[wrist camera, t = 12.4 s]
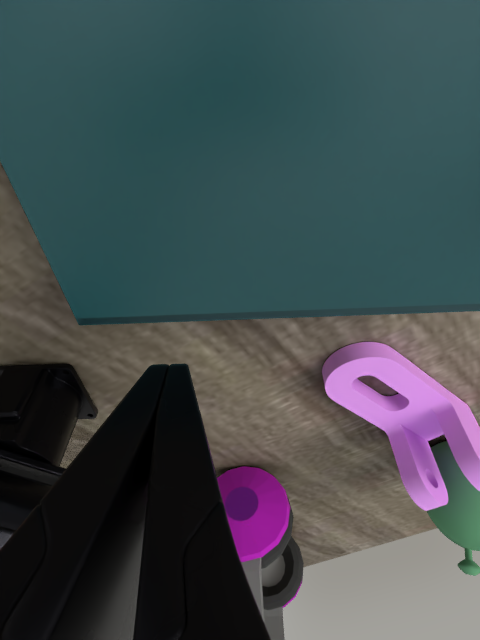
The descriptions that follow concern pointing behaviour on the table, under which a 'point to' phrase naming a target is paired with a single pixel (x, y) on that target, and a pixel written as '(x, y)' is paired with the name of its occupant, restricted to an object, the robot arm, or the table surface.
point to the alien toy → (458, 508)
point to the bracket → (407, 416)
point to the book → (247, 154)
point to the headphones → (263, 540)
